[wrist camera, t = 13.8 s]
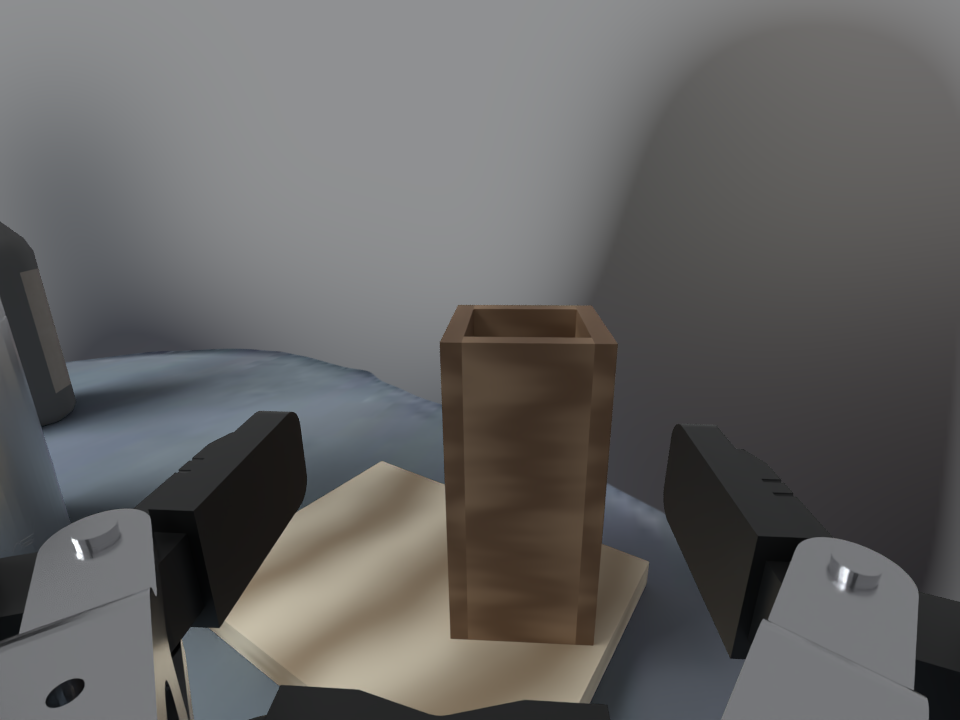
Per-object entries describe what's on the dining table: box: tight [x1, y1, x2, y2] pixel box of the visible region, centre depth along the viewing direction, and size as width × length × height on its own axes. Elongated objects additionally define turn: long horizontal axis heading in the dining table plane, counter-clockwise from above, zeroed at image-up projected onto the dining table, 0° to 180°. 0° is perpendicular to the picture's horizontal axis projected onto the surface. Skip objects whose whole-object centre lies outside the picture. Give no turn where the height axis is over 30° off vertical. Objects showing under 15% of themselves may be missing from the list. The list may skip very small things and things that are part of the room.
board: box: [210, 461, 649, 716], centre depth 27 cm, size 20×15×4 cm
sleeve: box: [440, 305, 618, 646], centre depth 23 cm, size 6×6×14 cm
